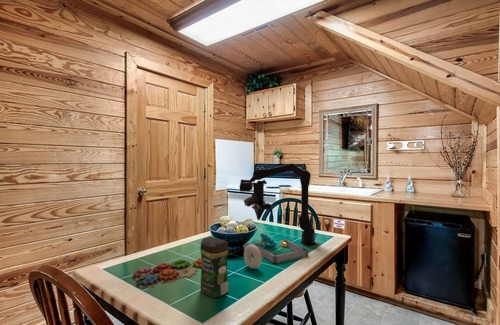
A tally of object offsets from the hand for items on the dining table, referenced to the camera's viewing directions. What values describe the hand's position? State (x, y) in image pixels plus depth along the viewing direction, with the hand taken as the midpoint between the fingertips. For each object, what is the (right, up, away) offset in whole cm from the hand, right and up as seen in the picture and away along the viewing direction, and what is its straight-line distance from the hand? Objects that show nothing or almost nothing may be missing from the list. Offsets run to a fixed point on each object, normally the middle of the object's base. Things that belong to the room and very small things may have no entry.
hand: (258, 219), depth 146 cm
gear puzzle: (-35, -13, -39) cm, 54 cm away
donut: (-4, -13, -36) cm, 38 cm away
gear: (+4, -12, -9) cm, 16 cm away
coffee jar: (-17, -13, -55) cm, 59 cm away
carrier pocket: (+10, -12, -19) cm, 25 cm away
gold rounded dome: (+14, -12, -7) cm, 20 cm away
